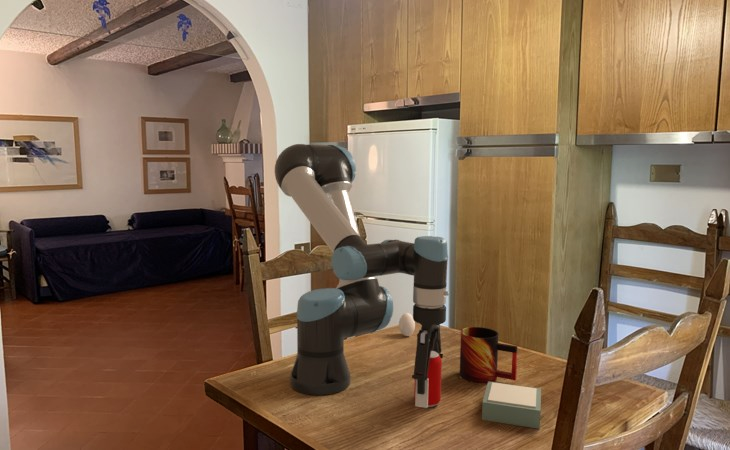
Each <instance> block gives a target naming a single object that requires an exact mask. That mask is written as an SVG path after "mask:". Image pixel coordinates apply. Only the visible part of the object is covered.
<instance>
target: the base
mask: <svg viewBox="0 0 730 450" xmlns="http://www.w3.org/2000/svg"><path fill="white" fill-rule="evenodd" d="M541 402H542V388H540V387H533V386H532V387H531V386H524V385H518V384H517V385H516V384H511V383H510V384H509V383H504V382H503V383H502V382H501V383H500V382H497V381H495V382H489V381H488V384H487V385H486V389H485V392H484V396H483V399H482V407H481V420H483V421H487V422H495V423H501V424H505V425H506V424H508V425H512V426H513V425H514V426H520V427H526V428H531V429H532V428H533V429H537V430H538V429H539V430H540V429H541V427H540V426H541V408H542V407H541V406H542V403H541Z"/></svg>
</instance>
